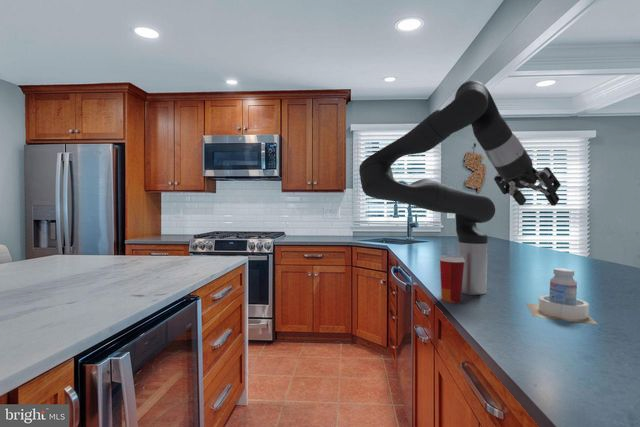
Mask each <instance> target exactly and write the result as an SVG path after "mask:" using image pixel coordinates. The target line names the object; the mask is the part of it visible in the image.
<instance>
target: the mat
mask: <svg viewBox="0 0 640 427" xmlns="http://www.w3.org/2000/svg"><path fill="white" fill-rule="evenodd" d="M525 305H526V307H527V309H528V310H529V311H530V314H531V315H532V317H533V318H541V319H543V318H544V319H550V320H551V319H552V320H559V321H566V322H567V321H568V322H577V323H584V324H591V325H594V324H595V325H598V323H597V321H595V320H594V319H593V318H592V317H591V316H590V315H589V317H588V318H587V319H583V320H572V319H564V318H558V317H554V316H550V315H547V314H544V313H542V312H540V311H539V309H538V305H539V303H529V302H525Z"/></svg>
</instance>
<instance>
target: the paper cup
mask: <svg viewBox="0 0 640 427" xmlns="http://www.w3.org/2000/svg"><path fill="white" fill-rule="evenodd" d="M438 261H439V270H440V271H439V272H440V289H441V290H440V293H441V301H443V302H445V303H450V304H457V303H461V300H462V294H463V293H462V281H463V270H464V262H465V260H464V258H463V256H459V255H458V254H442V255H440V256H439V258H438Z"/></svg>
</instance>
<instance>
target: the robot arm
mask: <svg viewBox="0 0 640 427" xmlns="http://www.w3.org/2000/svg"><path fill="white" fill-rule="evenodd" d="M470 125H471V127H472V128H471V129H472V131H473V132H472V133H473V136H474V137H475V139H476V140H477V142H478V144H479V145H480V147H481V148H482V150H483V151H484V153H485V154H486V155H485V156H486V157H487V159H488V161H490V163H491V165H492V166H493V167H494V169H495V171H496V172H497V174H496V175H495V176H494V178H493V181H495V184H496V185H497V187H498V188H499V190H500V192H501V193H502V194H503V195H507V194H508V195H509V196H511V197H512V198H513V200H514V201H515V202H516V203H517V204H518V205H519V206H524V204H526V202H527V199H526V197H525V195H524V194H523V193H522V191H521V190H520V189H531V190H533V191H535V192H540V193H542V194H543V195H544V197H545V198H546V199H547V201H548V203H549V205H550V206H552V207H553V206H556V205H557V204H558V202H559V200H560V197H559V195H558V194H557V191H558V190H559V189H560V187H561V185H562V184H561V182H560V181H559V180H558V179H557V176H555V174H554V172H553V171H552V170H551V168H550V167H549V166H548V167H544V168H543V169H542V170H537V169H536V168H535V167H534V166H533V161H532V159H531V157H530V155H529V154H528V152H527V151H526V149H525V148H524V146H523V144H522V143H521V140H519V138H518V137H517V136H516V134H514V132H513V131H512V130H511V128H510V126H509V125H508V123H507V122H506V120H505V118H504V117H502V115H501V113H500V111H499V109H498V107H497V105H496V102H495V101H494V98H493V97H492V94H491V92H490V91H489V90H488V88H487V86H486V85H485V84H484V83H482V82H480V81H479V80H468V81H465V82H463V83H462V84H460V86H459V87H458V88H457V90H456V92H455V95H454V99H453V100H452V101H451V102H450V103H449V104H447V105H445V107H443V108H442V109H436V110H434V111H433V112H432V113H430V114H429V115H428V116H426V117H425V118H424V119H423V120H422V121H420V123H418V124H417V125H416V126H414V127H413V128H412V129H411V130H410V131H408V132H406V133H405V134H404V135H403V136H401V137H399V138H398V139H395V140H394V141H393V142H391V143H389V144H387V145H385V146H383V148H381V149H379V150H377V151H376V152H374V153H372V154H371V155H369V156H367V158H365V159H364V160H363V161H361V163H360V165H359V169H358V171H359V172H358V173H359V180H360V185H361V189H362V191H363V194H364V195H366V196H368V197H369V198H373V199H378V200H382V201H389V202H395V203H402V204H406V205H410V206H414V207H418V208H419V209H423V210H427V211H429V212H434V213H435V212H436V213H443V214H444V213H445V214H454V215H455V230H456V236H457V238H458V240H457V243H458V244H457V245H458V246H457V247H458V248H457V255H459V256H463V258H464V260H465V262H464V270H463V281H462V293H461V294H465V295H471V296H480V295H485V294H486V293H487V282H488V281H487V280H488V279H487V277H488V275H487V274H488V244H489V243H488V241H489V240H488V239H489V238H488V235H487V234H486V233H484V232H482V231H481V230H480V229H479V228H478V227H477V224H483V223H487V222H489V221H491V220H492V219H493V218H494V217H495V215H496V205H495V203H494V202H493V201H492V199H491V198H489V197H488V196H486V195H481V194H476V193H470V192H466V191H463V190H460V189H458V188H455V187H453V186H450V185H447V184H444V183H442V182H439V181H435V180H433V179H430V178H421V179H418V180H416V181H414V182H412V183H410V184H406V183H402V182H400V181H397V180H396V179H395V178H394V175H393V170H392V166H393V164H394V163H395V162H396V161H398V160H399V159H400V158H402V157H404V156H408V155H416V154H417V155H419V154H423V153H426V152H428V151H430V150H432V149H434V148H435V147H436V146H438V145H439V144H441V143H442V142H444V141H445V140H447V138H449V137H450V136H451V135H452V134H454V133H457V132H459V131H461V130H463V129H464V128H466V127H469V126H470ZM537 182H539V183H538V184H537V185H536V183H537Z"/></svg>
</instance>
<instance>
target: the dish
mask: <svg viewBox="0 0 640 427" xmlns="http://www.w3.org/2000/svg"><path fill="white" fill-rule="evenodd" d="M549 295H550V294H546V295H545V294H544V295H543V294H542V295H541V296H540V295H539V296H538V304H539V305H538V309H539V311H540V312H542V313H544V314H547V315H550V316H554V317H558V318H564V319H572V320H583V319H587V318H588V317H589V316H590V315H589V314H590V312H589V311H590V303H588V302H587V301H585V300H582V299H580V298H576V305H565V304H559V303H554V302H550V301H549Z"/></svg>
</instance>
